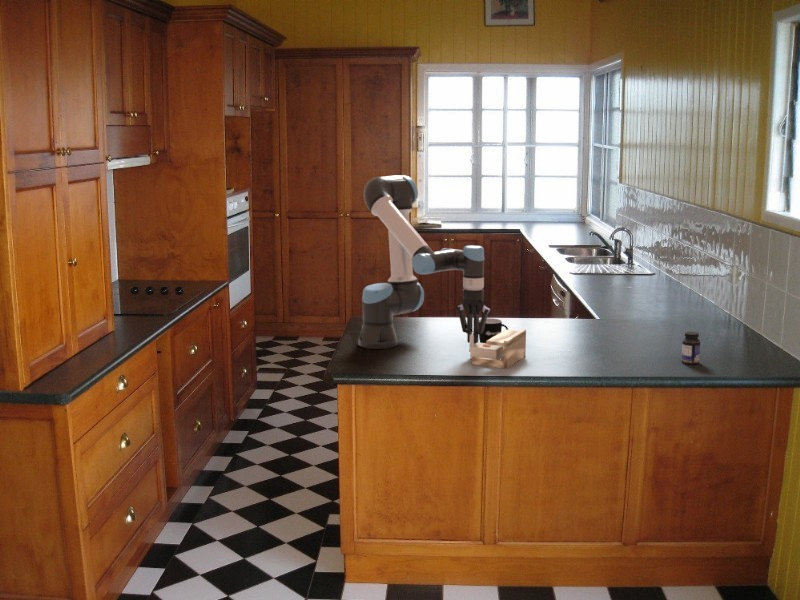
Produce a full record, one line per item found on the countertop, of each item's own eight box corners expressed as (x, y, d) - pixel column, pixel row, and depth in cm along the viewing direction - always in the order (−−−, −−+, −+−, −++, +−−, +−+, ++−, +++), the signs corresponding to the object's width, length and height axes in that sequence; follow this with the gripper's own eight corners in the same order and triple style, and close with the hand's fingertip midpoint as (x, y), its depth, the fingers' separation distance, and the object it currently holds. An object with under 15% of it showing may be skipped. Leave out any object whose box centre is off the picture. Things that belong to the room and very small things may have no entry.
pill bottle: (695, 360, 321) (697, 330, 318) (701, 364, 315) (703, 334, 312) (678, 360, 320) (680, 330, 318) (684, 365, 314) (686, 334, 312)
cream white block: (470, 359, 323) (470, 345, 322) (477, 355, 329) (477, 341, 328) (496, 363, 318) (496, 348, 317) (503, 358, 324) (503, 344, 323)
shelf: (471, 364, 317) (472, 337, 315) (491, 351, 333) (491, 326, 331) (507, 368, 311) (507, 341, 309) (525, 356, 327) (526, 329, 325)
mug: (482, 349, 336) (482, 323, 334) (475, 344, 345) (475, 318, 343) (512, 348, 339) (512, 322, 337) (504, 342, 347) (504, 317, 345)
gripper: (452, 288, 321) (452, 351, 326) (486, 291, 315) (485, 355, 320) (461, 285, 328) (460, 347, 332) (493, 288, 322) (493, 351, 326)
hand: (472, 351), depth 326 cm, fingers closed
